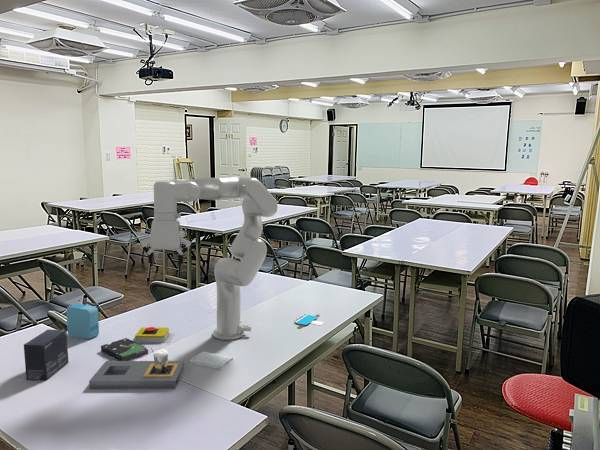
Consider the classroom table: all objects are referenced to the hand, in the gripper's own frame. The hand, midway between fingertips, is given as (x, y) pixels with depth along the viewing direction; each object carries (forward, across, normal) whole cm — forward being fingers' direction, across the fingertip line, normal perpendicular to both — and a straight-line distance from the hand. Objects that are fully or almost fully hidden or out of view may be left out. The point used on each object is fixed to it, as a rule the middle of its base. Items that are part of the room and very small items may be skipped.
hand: (166, 265), depth 157 cm
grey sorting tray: (+33, +5, +17) cm, 38 cm away
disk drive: (+34, +16, -2) cm, 38 cm away
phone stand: (+34, -55, -35) cm, 73 cm away
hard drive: (+34, -16, +5) cm, 38 cm away
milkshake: (+34, -2, +17) cm, 37 cm away
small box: (+34, +36, +12) cm, 51 cm away
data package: (+34, +37, -18) cm, 53 cm away
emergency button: (+34, +9, -16) cm, 39 cm away
